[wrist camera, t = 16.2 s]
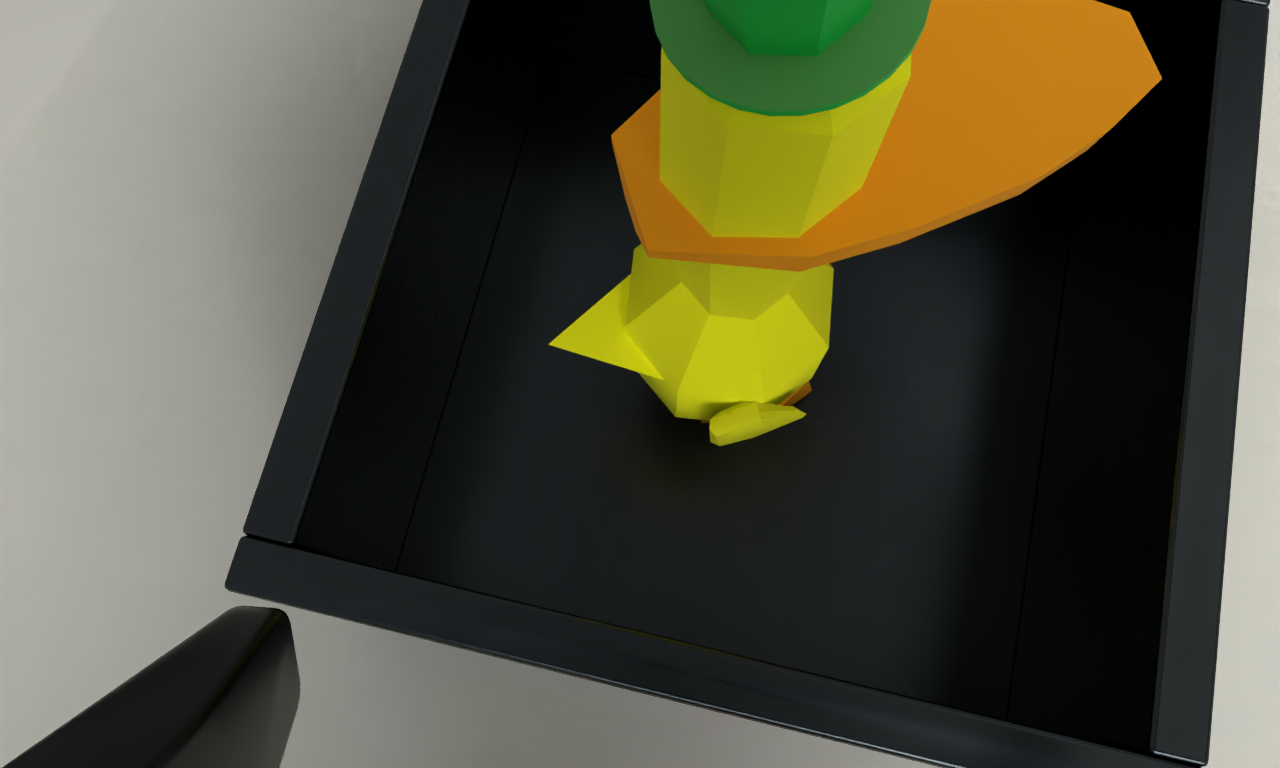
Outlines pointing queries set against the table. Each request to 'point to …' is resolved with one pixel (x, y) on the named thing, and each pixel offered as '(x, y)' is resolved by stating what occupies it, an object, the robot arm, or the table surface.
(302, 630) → the table surface
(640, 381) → the open black box
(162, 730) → the robot arm
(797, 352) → the toy figure
